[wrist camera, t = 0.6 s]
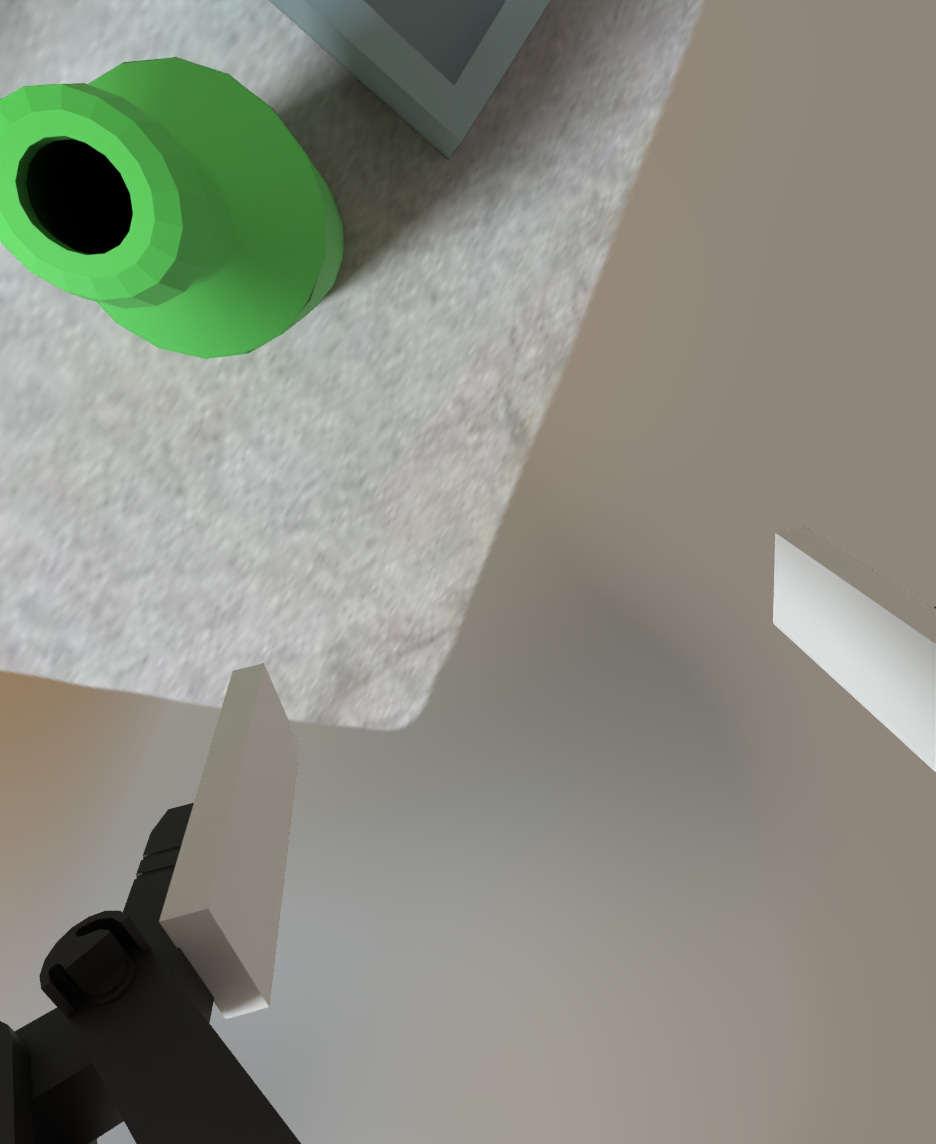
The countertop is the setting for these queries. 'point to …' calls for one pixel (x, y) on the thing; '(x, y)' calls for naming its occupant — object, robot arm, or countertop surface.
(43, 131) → the bottle
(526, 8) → the bin
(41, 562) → the countertop surface
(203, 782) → the robot arm
